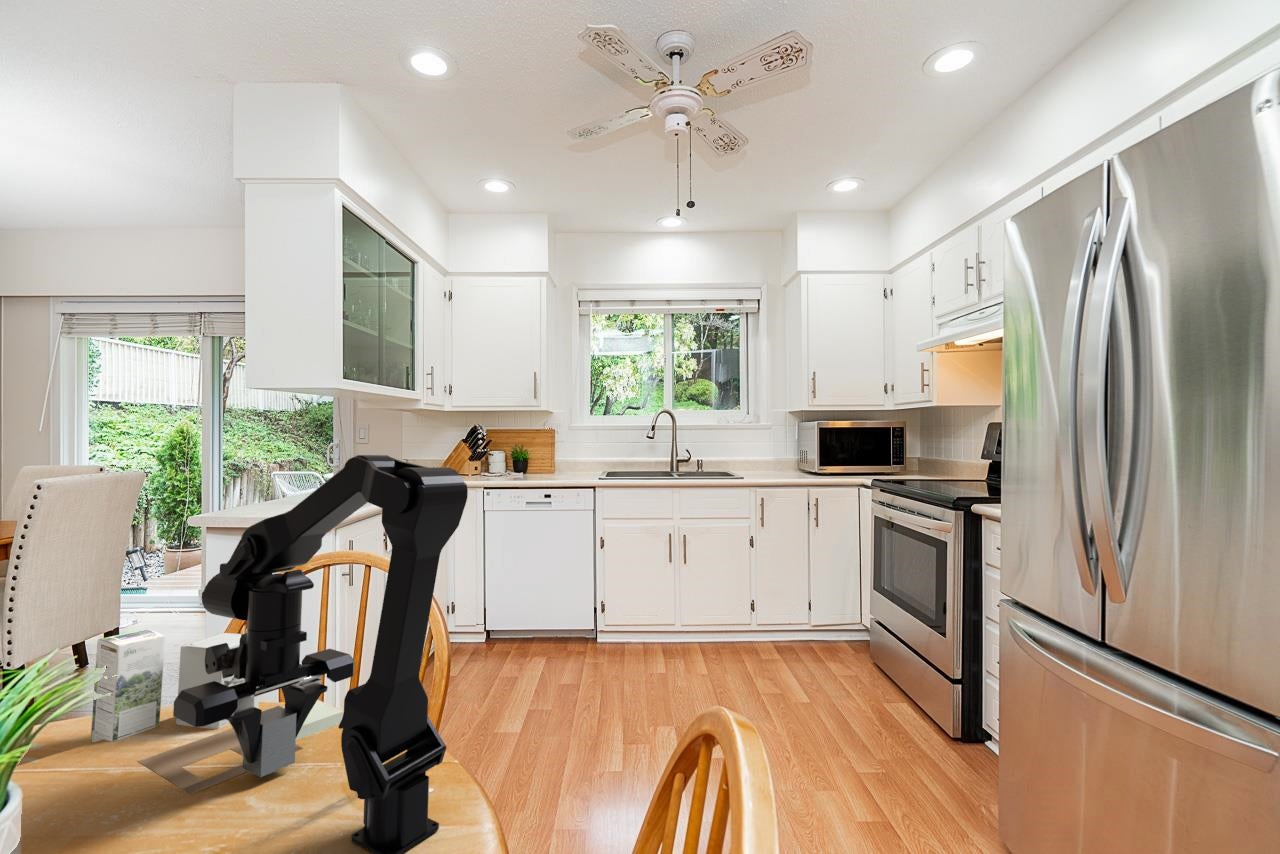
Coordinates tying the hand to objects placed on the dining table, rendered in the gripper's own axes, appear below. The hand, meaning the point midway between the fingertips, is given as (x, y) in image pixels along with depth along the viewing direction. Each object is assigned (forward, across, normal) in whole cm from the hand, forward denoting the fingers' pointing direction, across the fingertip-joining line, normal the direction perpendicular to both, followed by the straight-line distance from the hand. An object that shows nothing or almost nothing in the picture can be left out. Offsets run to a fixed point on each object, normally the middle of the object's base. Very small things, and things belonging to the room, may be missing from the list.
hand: (269, 754), depth 74 cm
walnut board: (+4, 0, -10) cm, 11 cm away
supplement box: (+4, -5, -23) cm, 24 cm away
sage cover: (+4, -10, -10) cm, 15 cm away
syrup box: (+4, +4, -29) cm, 29 cm away
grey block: (+1, 0, 0) cm, 1 cm away
